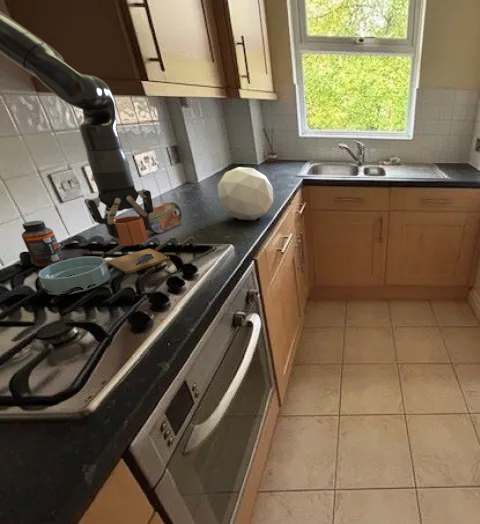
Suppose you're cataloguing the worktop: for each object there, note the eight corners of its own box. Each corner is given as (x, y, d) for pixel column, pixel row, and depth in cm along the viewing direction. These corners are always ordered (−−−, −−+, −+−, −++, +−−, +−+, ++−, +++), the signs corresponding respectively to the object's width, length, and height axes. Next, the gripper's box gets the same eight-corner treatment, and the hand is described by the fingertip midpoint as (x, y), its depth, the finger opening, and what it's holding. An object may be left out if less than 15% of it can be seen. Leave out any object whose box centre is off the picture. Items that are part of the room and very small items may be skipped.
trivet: (126, 274, 83) (125, 271, 83) (107, 263, 89) (106, 260, 89) (170, 259, 92) (169, 257, 91) (150, 250, 97) (149, 248, 97)
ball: (263, 236, 128) (274, 203, 113) (208, 221, 121) (212, 183, 107) (272, 202, 139) (283, 167, 124) (222, 186, 132) (227, 147, 118)
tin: (154, 236, 107) (146, 211, 104) (145, 236, 108) (138, 211, 104) (184, 222, 121) (179, 199, 117) (176, 221, 121) (171, 199, 118)
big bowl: (57, 302, 71) (49, 284, 69) (38, 286, 77) (30, 269, 75) (119, 281, 80) (114, 264, 78) (98, 268, 86) (93, 252, 84)
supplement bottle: (66, 262, 89) (50, 222, 84) (36, 269, 85) (17, 228, 80) (62, 256, 92) (46, 217, 88) (33, 263, 88) (15, 222, 84)
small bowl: (125, 247, 84) (118, 225, 81) (114, 242, 87) (106, 220, 84) (152, 240, 89) (146, 218, 86) (140, 235, 92) (134, 214, 89)
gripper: (135, 163, 87) (152, 223, 94) (67, 170, 76) (92, 238, 83) (149, 166, 83) (166, 229, 90) (80, 174, 72) (105, 245, 80)
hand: (130, 233), depth 87 cm, fingers closed on small bowl, 6 cm apart
